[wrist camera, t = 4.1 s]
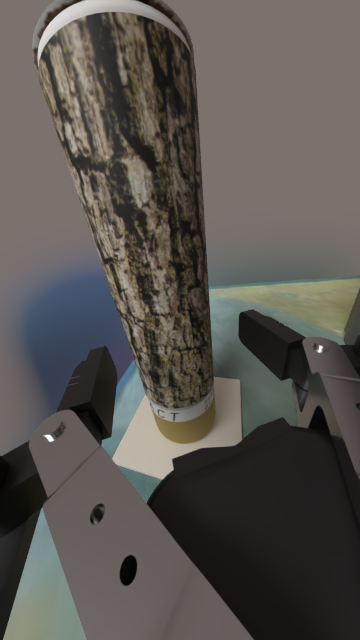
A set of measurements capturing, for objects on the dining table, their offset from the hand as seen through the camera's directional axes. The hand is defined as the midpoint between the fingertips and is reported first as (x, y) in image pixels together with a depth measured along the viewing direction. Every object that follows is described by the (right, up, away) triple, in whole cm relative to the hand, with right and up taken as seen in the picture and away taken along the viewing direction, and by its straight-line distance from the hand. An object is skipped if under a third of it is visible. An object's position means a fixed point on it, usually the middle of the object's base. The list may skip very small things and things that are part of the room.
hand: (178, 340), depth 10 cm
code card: (+1, -10, +9) cm, 14 cm away
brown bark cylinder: (+1, -10, +9) cm, 14 cm away
